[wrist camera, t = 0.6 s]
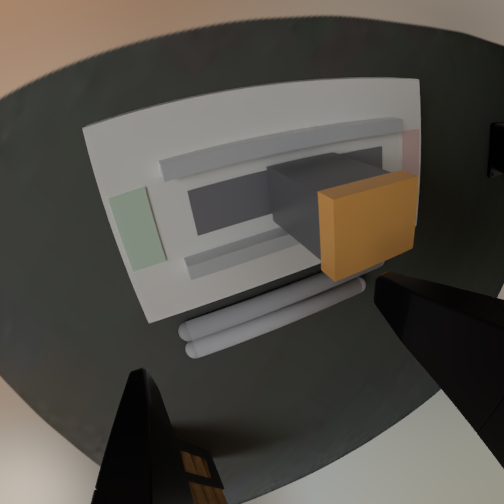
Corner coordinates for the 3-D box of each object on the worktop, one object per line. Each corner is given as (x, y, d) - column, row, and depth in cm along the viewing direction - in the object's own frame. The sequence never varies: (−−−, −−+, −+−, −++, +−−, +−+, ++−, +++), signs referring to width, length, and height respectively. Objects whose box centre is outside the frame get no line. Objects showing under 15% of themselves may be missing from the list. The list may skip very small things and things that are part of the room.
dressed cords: (378, 245, 26) (388, 253, 25) (375, 276, 28) (385, 284, 27) (174, 321, 22) (178, 333, 21) (186, 352, 23) (190, 364, 22)
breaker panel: (388, 77, 20) (430, 80, 16) (390, 212, 25) (425, 230, 22) (89, 124, 14) (79, 130, 11) (143, 295, 20) (150, 334, 17)
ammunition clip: (211, 452, 31) (250, 541, 21) (199, 459, 31) (235, 547, 21) (141, 424, 25) (173, 542, 15) (128, 432, 25) (157, 547, 15)
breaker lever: (335, 147, 17) (418, 176, 12) (338, 204, 18) (412, 248, 13) (262, 163, 16) (333, 199, 11) (270, 225, 17) (334, 282, 12)
